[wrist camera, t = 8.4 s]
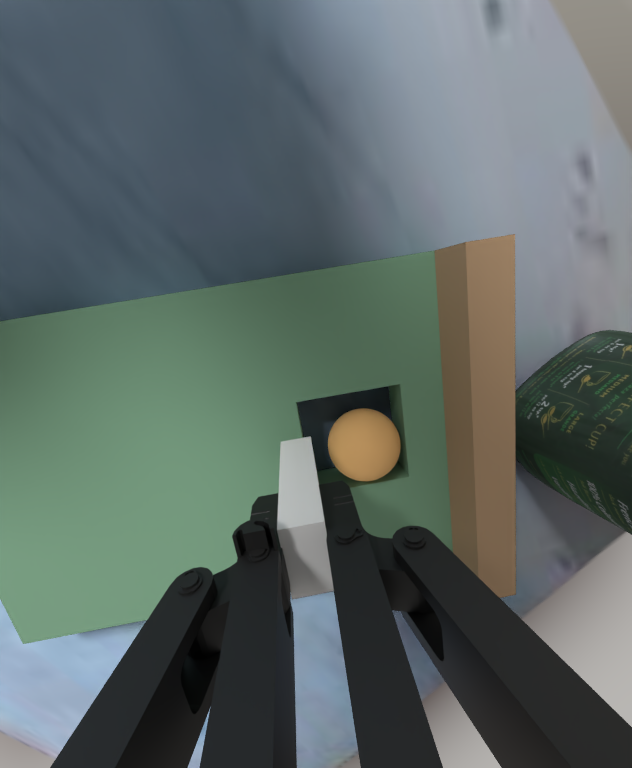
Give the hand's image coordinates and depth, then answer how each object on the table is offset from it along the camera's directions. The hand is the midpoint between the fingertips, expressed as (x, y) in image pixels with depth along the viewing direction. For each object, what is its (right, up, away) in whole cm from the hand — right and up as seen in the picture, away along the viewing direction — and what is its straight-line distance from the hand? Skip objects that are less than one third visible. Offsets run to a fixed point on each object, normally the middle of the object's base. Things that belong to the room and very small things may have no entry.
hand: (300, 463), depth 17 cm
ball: (+3, +1, +2) cm, 4 cm away
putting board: (-4, 0, +4) cm, 6 cm away
